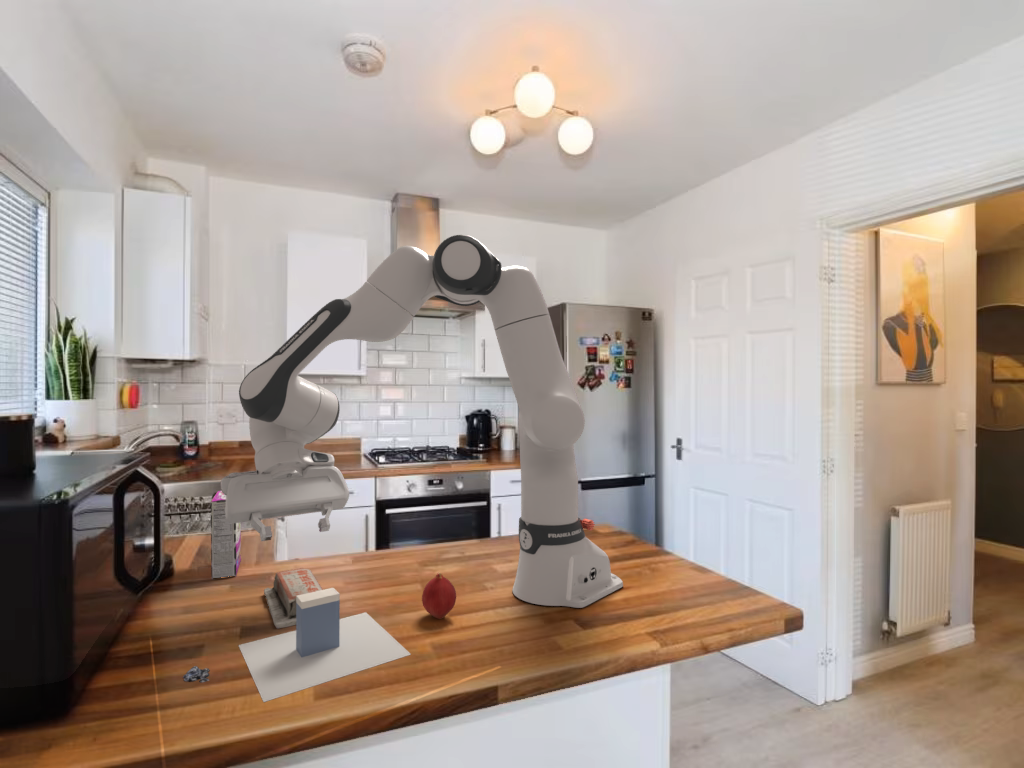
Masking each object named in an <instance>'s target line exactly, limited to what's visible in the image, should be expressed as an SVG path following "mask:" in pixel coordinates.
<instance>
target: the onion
mask: <svg viewBox="0 0 1024 768" xmlns="http://www.w3.org/2000/svg"><path fill="white" fill-rule="evenodd" d="M456 600H457V592H456V589H455V587H454V585H453V583H452V582H451V581H450V580H449V579H448V578H446V577H445V576H444V575H443V573H442V572H438V573H436V575H435V576H434V577H433V578H431V579H430V581H428V582H427V584H426V585H425V586H424V588H423V591H422V595H421V603H422V606H423V608H424V609H425V611H426V612H427V613H428V614H430V615H431V616H432V617H433V618H435V619H438V620H439V619H443V618H444V617H445V616H446V615H447V614H449V613H450V612H451V611H452V610H453V608H455V604H456Z"/></svg>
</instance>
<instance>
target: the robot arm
mask: <svg viewBox="0 0 1024 768" xmlns="http://www.w3.org/2000/svg"><path fill="white" fill-rule="evenodd" d="M432 297H434V298H437V299H440V300H443V301H445V302H449V303H450V304H453V305H457V306H462V307H470V306H473V305H476V304H478V303H479V302H481V303H482V304H483V305H484V306H485V307H486V309H487V311H488V313H489V315H490V317H491V321H492V325H493V329H494V332H495V335H496V339H497V343H498V346H499V350H500V353H501V356H502V357H501V358H502V361H503V364H504V367H505V370H506V373H507V376H508V378H509V379H508V380H509V382H510V384H511V387H512V391H513V395H514V398H515V401H516V404H517V406H518V410H519V411H518V439H519V440H518V442H519V444H518V445H519V462H520V463H519V464H520V516H519V519H518V540H519V541H518V542H519V555H518V562H517V563H518V564H517V569H516V573H515V579H514V584H513V586H512V590H511V591H512V593H513V595H514V596H515V597H516V598H518V599H519V600H520V601H521V600H522V601H524V602H526V603H529V604H533V605H534V604H535V605H539V606H540V605H541V606H548V607H549V606H551V607H553V606H554V607H560V606H562V607H569V608H570V607H571V608H576V609H579V608H580V609H581V608H582V609H583V608H585V607H587V606H589V605H591V604H593V603H595V602H596V601H599V600H600V599H602V598H604V597H606V596H607V595H609V594H612V593H613V592H615V591H618V590H619V589H621V588H623V586H624V582H623V580H622V579H621V578H620V577H619V576H617V575H616V574H614V573H612V571H611V561H610V559H609V556H608V554H607V553H606V552H605V550H603V549H602V548H600V547H599V546H598V545H597V544H596V543H594V542H592V540H590V539H589V538H588V537H587V536H586V534H585V530H584V529H586V530H588V531H593V530H594V529H595V522H594V520H592V519H588V518H583V519H581V518H579V477H578V476H579V475H578V472H577V467H576V457H575V456H576V455H575V448H574V447H575V446H574V444H575V443H577V442H578V440H579V439H580V438H581V436H582V434H583V432H584V430H585V422H586V421H585V415H584V411H583V409H582V406H581V404H580V400H579V397H578V395H577V392H576V389H575V386H574V384H573V380H572V379H571V376H570V374H569V371H568V368H567V366H566V363H565V361H564V359H563V357H562V356H563V355H562V353H561V350H560V347H559V344H558V340H557V337H556V332H555V329H554V326H553V321H552V319H551V316H550V315H551V314H550V312H549V309H548V306H547V303H546V300H545V297H544V294H543V293H542V290H541V287H540V286H539V283H538V281H537V279H536V277H535V276H534V274H533V271H531V270H530V269H528V268H527V267H524V266H520V265H510V266H504V267H503V266H502V262H501V261H500V260H499V259H498V258H497V257H496V255H494V254H493V253H492V252H491V251H490V250H489V249H488V248H487V246H485V245H484V244H483V242H481V241H480V240H478V239H476V238H475V237H474V236H471V235H468V234H467V235H466V234H454V235H452V236H449V237H447V238H446V239H444V240H443V241H442V242H441V243H440V244H438V246H437V248H436V250H435V251H434V255H430V254H427V253H426V252H425V251H424V250H422V249H420V248H418V247H415V246H412V245H403V246H400V247H398V248H397V249H395V250H394V251H393V252H391V254H389V255H388V256H387V257H386V258H385V259H384V260H383V261H382V262H381V263H380V264H379V265H378V266H377V268H375V269H374V271H373V272H372V273H371V274H370V275H369V277H368V278H367V279H366V281H365V282H364V283H363V284H362V285H361V287H360V288H358V290H356V291H354V292H353V293H352V294H350V295H349V296H346V297H344V298H336V299H333V300H331V301H330V302H328V303H326V304H325V305H324V306H322V307H321V308H320V309H319V310H318V311H317V312H316V313H315V314H313V316H311V317H310V318H309V319H308V320H307V321H306V322H305V323H304V324H302V326H301V327H300V328H299V329H298V330H297V331H296V332H294V333H293V334H292V335H291V336H290V337H289V338H288V339H287V340H286V341H285V342H284V343H283V344H282V345H281V346H280V347H279V348H278V349H277V350H276V351H275V352H274V353H273V354H271V356H269V357H268V358H266V359H265V360H264V361H262V362H261V363H259V364H258V365H257V366H255V367H254V368H253V369H251V370H250V371H249V372H248V373H247V374H246V375H245V377H244V378H243V380H242V381H241V384H240V385H239V390H238V397H239V401H240V404H241V408H242V409H243V411H244V412H245V414H246V415H247V417H249V422H248V424H249V425H248V428H249V435H250V442H251V445H252V448H253V450H254V466H255V470H252V471H251V470H250V471H243V472H231V473H229V474H228V475H226V476H224V477H223V478H221V480H220V483H219V484H220V491H222V493H223V494H224V495H226V503H225V517H226V520H228V521H229V522H230V523H247V522H250V526H251V528H252V529H254V530H255V531H256V533H258V534H259V537H260V542H265V541H266V542H267V541H271V540H272V538H273V531H272V525H269V526H268V525H265V524H264V523H263V522H262V520H263V521H264V520H270V519H277V518H285V517H292V516H299V515H305V514H314V513H320V512H321V516H325V517H323V518H319V521H318V523H317V527H318V530H319V533H323V532H328V531H330V528H331V523H330V516H331V513H332V511H336V510H337V511H338V510H343V509H344V508H345V506H346V505H347V503H348V501H349V499H350V490H349V488H348V484H347V482H346V479H345V478H344V475H343V473H342V472H341V470H340V469H339V468H338V467H336V466H335V457H334V455H333V454H331V453H326V452H320V451H316V450H312V449H307V448H305V446H306V445H309V444H312V443H314V442H315V441H317V440H319V439H320V438H321V437H323V436H325V435H326V434H327V433H329V432H330V431H331V430H332V429H333V428H334V427H335V426H336V425H337V422H338V420H339V417H340V401H339V397H338V395H336V393H334V392H332V391H331V390H329V389H327V388H325V387H323V386H322V385H319V384H316V383H315V382H312V381H309V380H307V379H306V378H305V377H304V378H303V377H301V376H299V375H300V373H301V372H302V371H304V370H305V369H306V368H307V367H308V366H309V365H310V363H311V362H312V361H313V360H315V358H316V357H318V356H319V354H321V352H322V351H323V350H325V349H326V348H327V347H328V346H330V345H331V344H333V343H335V342H338V341H341V340H342V341H343V340H355V341H357V340H358V341H365V342H370V343H381V342H387V341H391V340H394V339H395V338H397V337H399V336H400V335H401V334H402V333H403V332H404V331H405V330H406V328H407V327H408V326H409V324H410V323H411V322H412V320H413V319H414V317H415V316H416V315H417V314H418V312H419V311H420V309H421V308H422V307H423V306H424V304H425V303H426V302H427V301H428V300H429V299H431V298H432Z"/></svg>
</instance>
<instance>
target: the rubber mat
mask: <svg viewBox="0 0 1024 768" xmlns="http://www.w3.org/2000/svg"><path fill="white" fill-rule="evenodd" d="M238 647H239V650H240V652H241V654H242V657H243V660H244V661H245V663H246V665H247V668H248V671H249V673H250V675H251V677H252V680H253V682H254V684H255V686H256V688H257V691H258V693H259V696H260V697H261V700H262V702H263V703H267V702H269V701H272V700H275V699H278V698H281V697H285V696H288V695H291V694H294V693H298V692H300V691H303V690H306V689H310V688H312V687H315V686H318V685H322V684H324V683H328V682H332V681H334V680H337V679H340V678H343V677H347V676H350V675H353V674H355V673H359V672H362V671H365V670H369V669H371V668H374V667H377V666H380V665H383V664H386V663H389V662H392V661H396V660H399V659H401V658H406V657H408V656H411V654H412V653H410V652H409V651H408V650H407V649H406V648H405V647H404V646H403V645H402V644H401V643H400V642H398V641H397V639H395V637H393V636H392V635H391V634H390V633H389V632H388V631H387V630H386V629H385V628H384V627H382V626H381V624H379V623H378V622H377V621H376V620H375V619H374V618H373V617H372V616H371V615H370V614H368V613H367V611H365V612H362V613H361V612H360V613H358V614H354V615H351V616H347V617H342V618H340V630H339V647H336V648H333V649H329V650H326V651H323V652H319V653H316V654H312V655H309V656H305V657H301V656H300V654H299V653H298V651H297V650H296V629H295V630H293V631H292V630H291V631H288V632H284V633H281V634H276V635H272V636H268V637H265V638H260V639H257V640H254V641H249V642H246V643H242V644H239V645H238Z"/></svg>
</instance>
